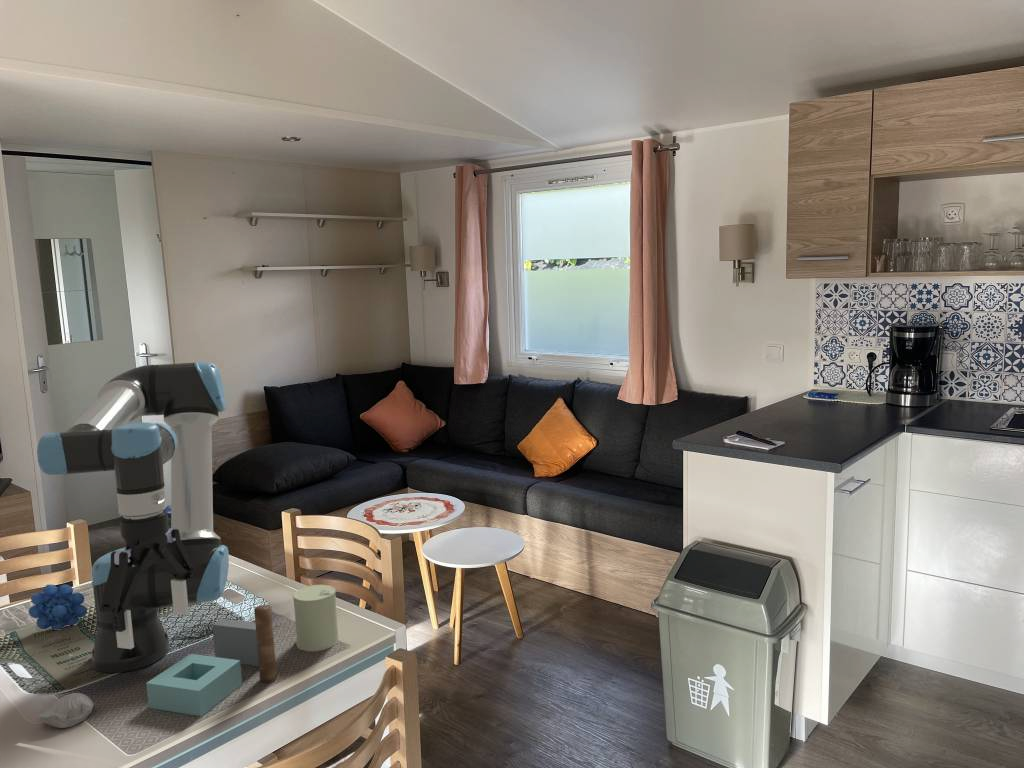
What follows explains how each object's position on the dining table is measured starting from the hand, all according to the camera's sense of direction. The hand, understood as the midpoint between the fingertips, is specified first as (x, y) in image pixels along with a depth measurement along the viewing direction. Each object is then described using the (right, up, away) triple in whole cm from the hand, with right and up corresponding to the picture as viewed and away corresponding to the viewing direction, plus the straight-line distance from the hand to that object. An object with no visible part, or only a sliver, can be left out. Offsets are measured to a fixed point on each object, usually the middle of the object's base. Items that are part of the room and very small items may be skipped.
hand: (154, 630), depth 137 cm
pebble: (-19, -19, +7) cm, 28 cm away
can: (+20, -14, +35) cm, 43 cm away
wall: (+6, -15, +28) cm, 32 cm away
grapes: (-42, -15, +44) cm, 63 cm away
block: (+2, -17, +14) cm, 22 cm away
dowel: (+14, -16, +19) cm, 29 cm away
